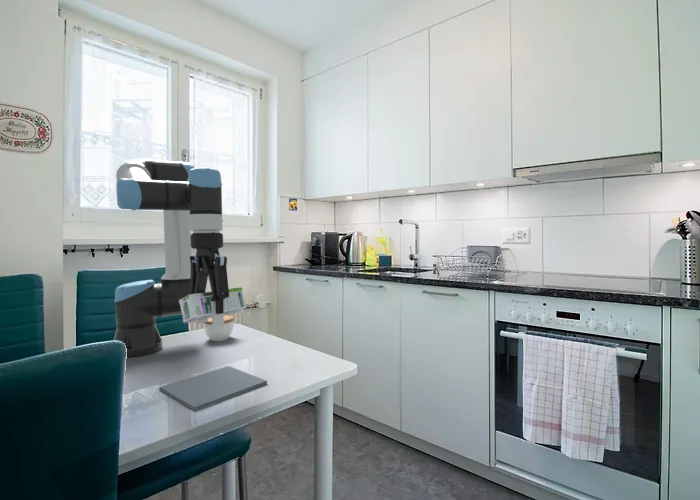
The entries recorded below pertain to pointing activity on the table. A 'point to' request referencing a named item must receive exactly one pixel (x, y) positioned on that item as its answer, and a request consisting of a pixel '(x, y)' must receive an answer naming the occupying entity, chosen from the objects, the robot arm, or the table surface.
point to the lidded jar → (219, 329)
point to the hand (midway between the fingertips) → (209, 324)
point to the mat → (212, 387)
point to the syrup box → (200, 305)
